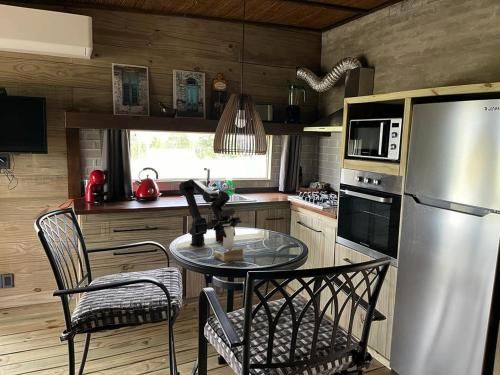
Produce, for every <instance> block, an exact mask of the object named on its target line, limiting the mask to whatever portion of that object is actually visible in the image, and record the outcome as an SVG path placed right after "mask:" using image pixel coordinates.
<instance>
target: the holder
mask: <svg viewBox="0 0 500 375" xmlns="http://www.w3.org/2000/svg"><path fill="white" fill-rule="evenodd" d="M243 253H244V249H243V248H237V249H234V248H233V249H232V250H227V251H226V250H225V251H224V252H221V251H218V250H215V251H213V258H216V259H217V260H220V261H222V262H224V263H228V262H232V261H236V260H242V259H243V256H244V254H243Z"/></svg>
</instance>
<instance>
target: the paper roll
mask: <svg viewBox="0 0 500 375" xmlns="http://www.w3.org/2000/svg"><path fill="white" fill-rule="evenodd" d="M224 231H225V233H226V236H227V237H226V238H225V237H223V242H222V249H223V250H225V251H226V250H227V251H229V250H232V249H234V241H235V239H234V238H235V236H234V227H229V226H228V227H224Z"/></svg>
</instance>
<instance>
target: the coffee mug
mask: <svg viewBox="0 0 500 375" xmlns="http://www.w3.org/2000/svg"><path fill="white" fill-rule="evenodd" d="M224 227H228V224H224V225H223V229H224ZM214 232H215V233H214V234H215V241H216V242H222V243H223V236H222V235H221V234H219V233H218V232H216V231H215V230H214Z"/></svg>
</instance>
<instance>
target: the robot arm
mask: <svg viewBox="0 0 500 375" xmlns="http://www.w3.org/2000/svg"><path fill="white" fill-rule="evenodd" d="M178 188H179V191H180V193H181V195H182V196H184V198H185V200H186V203H187V206H188V208H189V212H190V216H191V218H192V222H191V227H190V228H189V230H188V233H189V235H191V243H189V246H194V247H195V246H196V247H201V246H203V245H205V244H206V243H205V236H204V235H206V234H207V232H208V231H210V230H211V231H212V230H213V231H214V232H215V231H216V232H218V233H219V234H221V235H222V236H223V237H225V238H226V237H227V236H226V233H225V231H224V229H223V225H224V224H228V226H229V227H234V237H235V236H236V230H235V229H236V228H235V226H237V225H238V223H239V222H241V219H240V216H234V215H235V214H236V211H235V209H234V207H231V208H228V209H223V208H224V207H225V206H226V204H228V202H229V201H230V200H231V196H230V195H229V194H228V193H227V192H225V191H224V190H220V191H219V193H218V192H217V191H216V190H213V189H210V188H208V187H207V186H205V185H204V184H203V183H202V182H201V181H200V180H199V179H198V178H190V179H189V180H185V181H181V182H180V184H179V185H178ZM195 191H197V192H198V193H199V194H200V195H201V196H202V200H203V201H204V202H205V203H206V204H209V203H211V204H209V205H208V210H209V211H210V210H211V212H212V214H213V216H212V218H213V219H210V220H209V222H207V218H205V217H202V215H201V212H200V209H199V207H198V203H197V200H196V197H195ZM231 216H232V217H231Z"/></svg>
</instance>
